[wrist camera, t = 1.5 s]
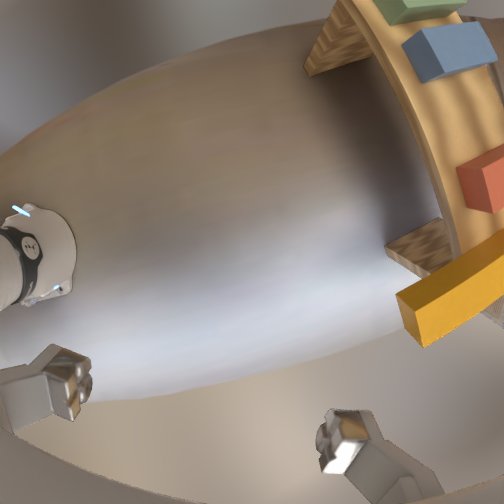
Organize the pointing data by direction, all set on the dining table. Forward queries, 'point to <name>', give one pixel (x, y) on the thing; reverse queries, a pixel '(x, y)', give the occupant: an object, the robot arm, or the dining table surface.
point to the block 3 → (484, 181)
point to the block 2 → (448, 50)
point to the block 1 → (416, 9)
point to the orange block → (454, 292)
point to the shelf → (424, 125)
